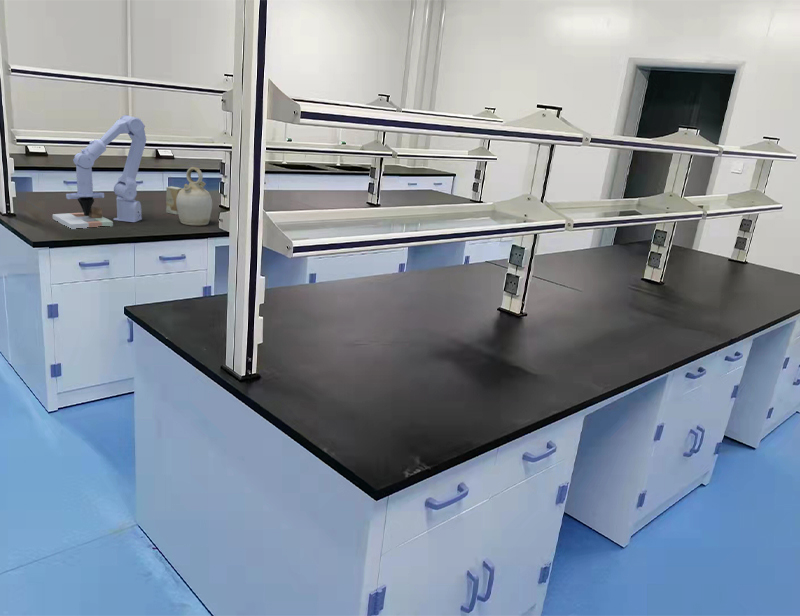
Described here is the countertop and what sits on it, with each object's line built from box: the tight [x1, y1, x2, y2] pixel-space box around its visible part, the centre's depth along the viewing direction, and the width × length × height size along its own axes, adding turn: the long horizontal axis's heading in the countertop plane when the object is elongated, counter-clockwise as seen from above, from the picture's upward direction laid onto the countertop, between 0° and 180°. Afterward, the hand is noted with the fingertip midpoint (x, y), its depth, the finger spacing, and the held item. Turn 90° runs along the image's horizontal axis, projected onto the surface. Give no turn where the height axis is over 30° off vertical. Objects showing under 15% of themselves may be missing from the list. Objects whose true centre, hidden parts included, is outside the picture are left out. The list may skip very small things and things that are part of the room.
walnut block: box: [89, 206, 103, 218], centre depth 265 cm, size 4×4×4 cm
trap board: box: [52, 212, 114, 230], centre depth 263 cm, size 16×20×2 cm
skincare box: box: [165, 185, 184, 215], centre depth 297 cm, size 6×4×12 cm
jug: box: [176, 166, 213, 226], centre depth 280 cm, size 15×16×25 cm
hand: (86, 215), depth 263 cm, fingers closed
